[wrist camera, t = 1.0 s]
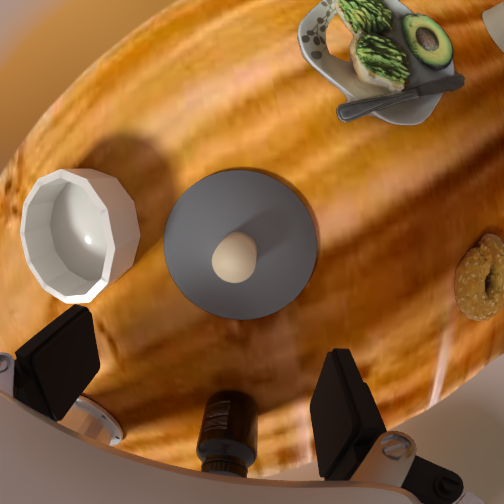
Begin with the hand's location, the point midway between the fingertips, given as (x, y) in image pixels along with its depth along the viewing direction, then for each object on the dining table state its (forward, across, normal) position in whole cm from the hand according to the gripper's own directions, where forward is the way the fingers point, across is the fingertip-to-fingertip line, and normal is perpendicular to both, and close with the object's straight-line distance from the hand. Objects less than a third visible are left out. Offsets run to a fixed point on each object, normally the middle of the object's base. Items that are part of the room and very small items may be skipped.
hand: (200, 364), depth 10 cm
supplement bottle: (+18, -1, +21) cm, 28 cm away
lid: (+18, 0, 0) cm, 18 cm away
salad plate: (+19, -12, -24) cm, 33 cm away
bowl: (+18, +17, 0) cm, 25 cm away
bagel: (+19, -30, -1) cm, 36 cm away
